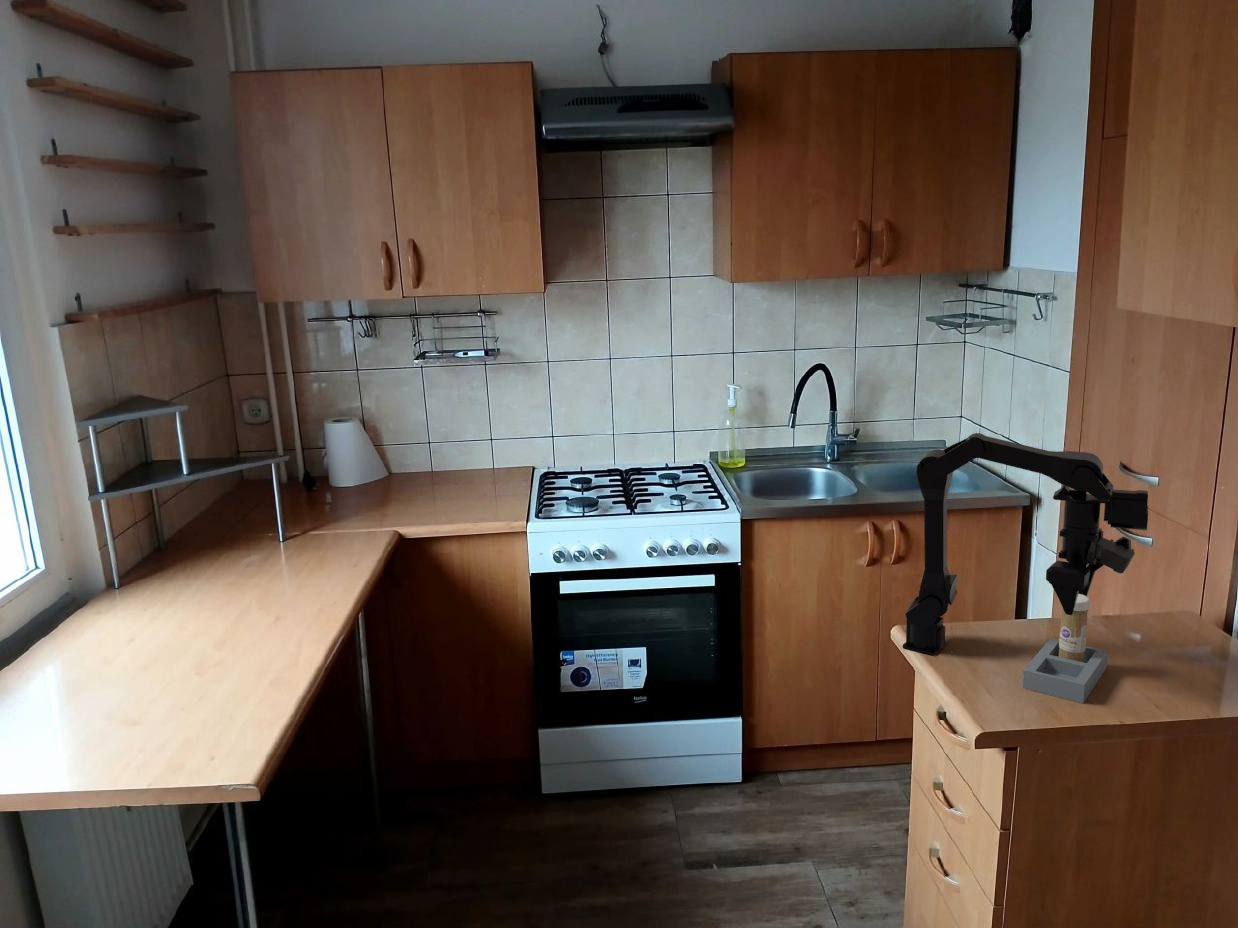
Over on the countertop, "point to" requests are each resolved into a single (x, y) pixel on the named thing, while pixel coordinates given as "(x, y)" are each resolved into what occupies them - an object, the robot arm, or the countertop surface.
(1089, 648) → the slot caddy
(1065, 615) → the sprinkles bottle
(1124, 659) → the countertop surface
